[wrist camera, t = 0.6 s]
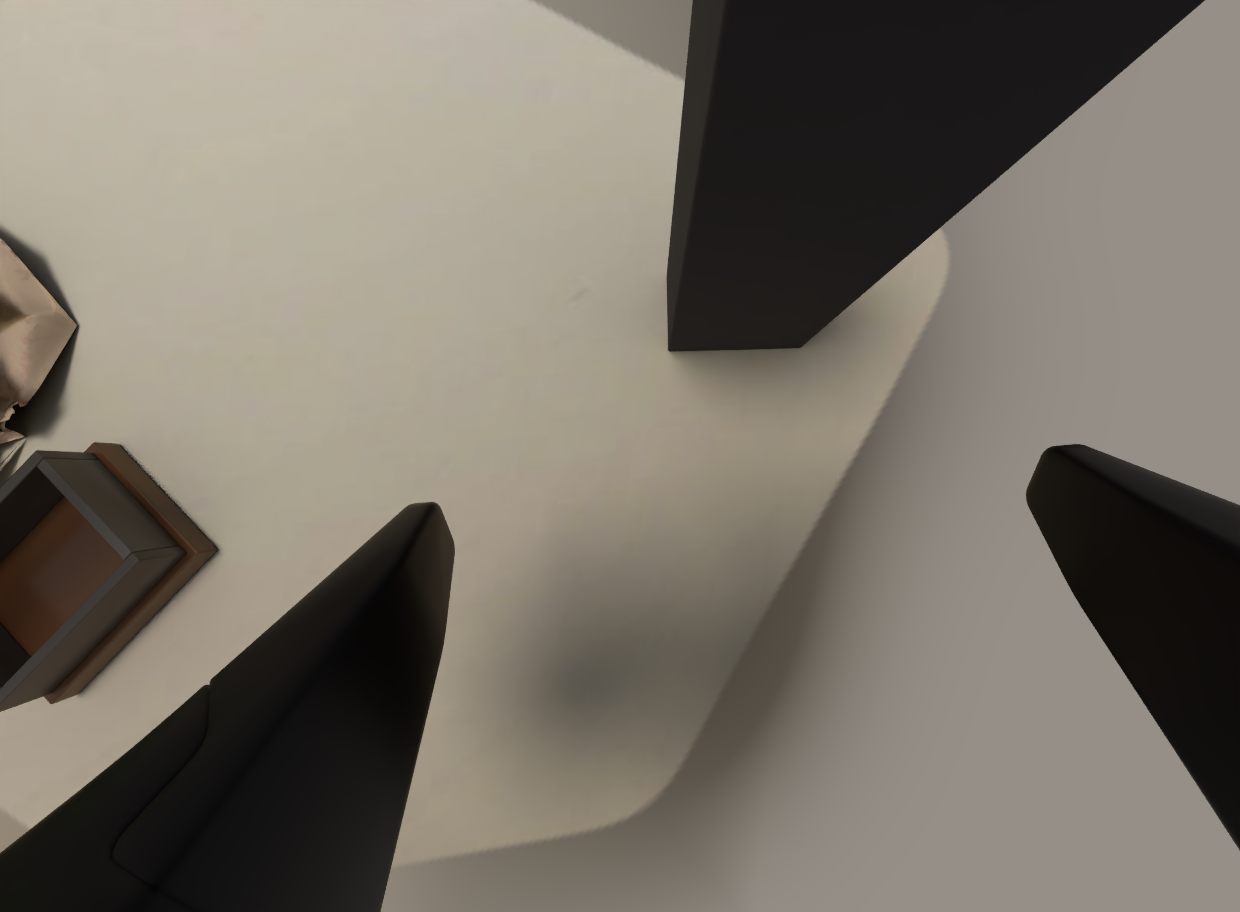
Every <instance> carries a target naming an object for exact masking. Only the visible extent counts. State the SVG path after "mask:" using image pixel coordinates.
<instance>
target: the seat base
mask: <svg viewBox="0 0 1240 912" xmlns="http://www.w3.org/2000/svg"><path fill="white" fill-rule="evenodd" d="M216 551H217V548H216V547H215V546H214V545H213V544H212V543H211V542H210V541H209V540H208V539H207V538H206V537H205V536H204V535H203V534H202V533H201V531H200V530H199V529H198V528H197V527H196V526H195V525H194V524H193V523H192V522H191V521H190V520H189V519H188V518H187V517H186V516H185V515H184V514H183V512H182V511H181V510H180V509H179V508H178V507H177V506H176V505H175V504H174V503H173V502H172V501H171V500H170V499H169V498H168V497H167V496H166V495H165V493H164V492H163V491H162V490H161V489H160V488H159V487H158V486H157V485H156V484H155V483H154V482H153V481H152V480H151V479H150V478H149V477H148V476H147V474H146V473H145V472H144V471H143V470H142V469H141V468H140V467H139V466H138V465H137V464H136V463H135V462H134V461H133V460H132V459H131V458H130V457H129V455H128V454H127V453H126V452H125V451H124V450H123V449H122V448H121V447H120V446H119V445H118V444H113V443H98V442H95V443H93V444H92V445H91V446H90V447H89V448H88V449H87V450H86V451H85V452H84V453H82V452H61V451H40V450H37V451H35V452H34V453H33V454H32V455H31V456H30V458H29V459H28V460H27V461H26V462H25V463H24V464H23V465H22V466H21V467H20V468H19V469H18V470H17V471H16V472H15V473H14V474H13V475H12V476H11V477H10V478H9V479H8V480H7V481H6V482H5V483H4V484H3V485H2V486H1V488H0V712H1V711H4V710H7V709H9V708H12V707H15V706H18V705H20V704H23V703H26V702H29V701H32V700H34V699H37V698H40V697H43V696H44V697H45V698H46V700H47V701H48V702H49V703H50V704H54V703H56V702H59V701H62V700H64V699H67V698H70V697H72V696H75V695H77V694H78V693H79V692H80V691H81V690H82V689H83V688H84V687H85V686H86V685H87V684H88V683H89V682H90V681H91V680H92V679H93V678H94V677H95V675H96V674H97V673H98V672H99V671H100V670H101V669H102V668H103V667H104V666H105V665H106V664H107V663H108V662H109V661H110V660H111V659H112V658H113V657H114V656H115V655H116V654H117V653H118V652H119V651H120V650H121V649H122V648H123V647H124V646H125V645H126V644H127V643H128V641H129V640H130V639H131V638H132V637H133V636H134V635H135V634H136V633H137V632H138V631H139V630H140V629H141V628H142V627H143V626H144V625H145V624H146V623H147V622H148V621H149V620H150V619H151V618H152V617H153V616H154V615H155V614H156V613H157V612H158V611H159V610H160V608H161V607H162V606H163V605H164V604H165V603H166V602H167V601H168V600H169V599H170V598H171V597H172V596H173V595H174V594H175V593H176V592H177V591H178V590H179V589H180V588H181V587H182V586H183V585H184V584H185V583H186V582H187V581H188V580H189V579H190V578H191V577H192V575H193V574H194V573H195V572H196V571H197V570H198V569H199V568H200V567H201V566H202V565H203V564H204V563H205V562H206V561H207V560H208V559H209V558H210V557H211V556H212V555H213V554H214V553H215V552H216Z"/></svg>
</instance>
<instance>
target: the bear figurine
mask: <svg viewBox="0 0 1240 912" xmlns="http://www.w3.org/2000/svg"><path fill="white" fill-rule="evenodd" d="M76 327H77V325H76V324H75V322H74V321H73V320H72V319H71V318H70V317H69V316H68V314H67V313H66V312H65V311H64V310H63V309H62V308H61V306H60V305H59V304H58V303H57V302H56V301H55V299H54V298H53V297H52V296H51V295H50V294H49V293H48V291H47V290H46V289H45V288H44V287H43V286H42V284H41V283H40V282H39V281H38V280H37V279H36V278H35V276H34V275H33V274H32V273H31V272H30V271H29V269H28V268H27V267H26V266H25V265H24V264H23V263H22V261H21V260H20V259H19V258H18V257H17V256H16V255H15V253H14V252H13V251H12V250H11V249H10V248H9V246H8V245H7V244H6V243H5V242H4V241H3V240H2V239H1V238H0V444H1V443H5V442H8V441H12V440H15V439H19V438H22V437H25V436H23V435H21V434H19V433H17V432H15V431H12V430H9V429H7V428H5V422H6V420H9V419H10V416H11V415H12V413H15V411H14V409H13V408H12V407H13V406H14V405H16V404H19V405H20V407H22V406H25V405H27V403H28V402H29V400H30V399H31V398H32V396H33V395H34V394H35V393H36V391H37V390H38V389H39V387H40V386H41V384H42V382H43V381H44V379H45V377H46V376H47V374H48V373H49V371H50V369H51V368H52V366H53V364H54V363H55V361H56V359H57V358H58V356H59V355H60V353H61V351H62V350H63V348H64V346H65V345H66V343H67V341H68V340H69V338H70V337H71V335H72V333H73V332H74V330H75V328H76ZM19 444H20V443H19ZM19 444H18V445H19ZM18 445H17V446H18ZM13 451H14V450H13ZM13 451H12V452H13ZM12 452H11V453H12ZM11 453H10V454H11ZM10 454H9V455H10ZM9 455H8V457H9ZM8 457H7V458H8ZM7 458H6V459H7ZM6 459H5V460H6ZM5 460H4V461H5ZM4 461H3V462H4ZM3 462H2V463H1V464H0V466H1V465H2V464H3Z"/></svg>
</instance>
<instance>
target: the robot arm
mask: <svg viewBox="0 0 1240 912" xmlns="http://www.w3.org/2000/svg"><path fill="white" fill-rule="evenodd" d="M1026 499H1027V504H1028V506H1029V509H1030V510H1031V512H1032V514H1033V516H1034V518H1035V520H1036V522H1037V524H1038V526H1039V528H1040V530H1041V532H1042V534H1043V536H1044V538H1045V540H1046V542H1047V544H1048V546H1049V548H1050V550H1051V552H1052V554H1053V556H1054V558H1055V560H1056V562H1057V564H1058V566H1059V568H1060V570H1061V572H1062V574H1063V575H1064V577H1065V579H1066V581H1067V583H1068V585H1069V587H1070V588H1071V590H1072V592H1073V594H1074V596H1075V597H1076V599H1077V601H1078V602H1079V604H1080V606H1081V607H1082V609H1083V610H1084V612H1085V613H1086V615H1087V617H1088V618H1089V620H1090V621H1091V623H1092V624H1093V626H1094V627H1095V629H1096V630H1097V632H1098V633H1099V635H1100V637H1101V638H1102V640H1103V641H1104V643H1105V644H1106V646H1107V647H1108V649H1109V650H1110V652H1111V653H1112V655H1113V656H1114V658H1115V660H1116V661H1117V663H1118V664H1119V666H1120V667H1121V669H1122V670H1123V672H1124V673H1125V675H1126V676H1127V678H1128V679H1129V681H1130V683H1131V684H1132V685H1133V687H1134V689H1135V690H1136V692H1137V693H1138V695H1139V696H1140V698H1141V699H1142V701H1143V703H1144V704H1145V706H1146V707H1147V709H1148V710H1149V712H1150V713H1151V715H1152V716H1153V718H1154V719H1155V721H1156V722H1157V724H1158V726H1159V727H1160V729H1161V730H1162V732H1163V733H1164V735H1165V736H1166V738H1167V739H1168V741H1169V742H1170V744H1171V745H1172V747H1173V748H1174V750H1175V752H1176V753H1177V755H1178V756H1179V758H1180V759H1181V761H1182V762H1183V764H1184V765H1185V767H1186V768H1187V770H1188V772H1189V773H1190V775H1191V776H1192V778H1193V779H1194V781H1195V782H1196V784H1197V785H1198V787H1199V788H1200V790H1201V792H1202V793H1203V795H1204V796H1205V797H1206V799H1207V801H1208V802H1209V804H1210V805H1211V807H1212V808H1213V810H1214V812H1215V813H1216V815H1217V816H1218V818H1219V819H1220V821H1221V822H1222V824H1223V825H1224V827H1225V828H1226V830H1227V831H1228V833H1229V835H1230V836H1231V838H1232V839H1233V841H1234V842H1235V844H1236V845H1237V847H1238V848H1239V850H1240V505H1238V504H1235V503H1232V502H1230V501H1227V500H1225V499H1222V498H1219V497H1217V496H1214V495H1212V494H1209V493H1207V492H1204V491H1201V490H1198V489H1196V488H1194V487H1191V486H1188V485H1186V484H1183V483H1181V482H1178V481H1176V480H1173V479H1170V478H1168V477H1165V476H1163V475H1160V474H1157V473H1155V472H1152V471H1149V470H1147V469H1144V468H1142V467H1139V466H1137V465H1134V464H1131V463H1129V462H1126V461H1124V460H1121V459H1118V458H1116V457H1113V456H1111V455H1108V454H1106V453H1103V452H1100V451H1098V450H1095V449H1092V448H1090V447H1087V446H1085V445H1080V444H1072V445H1061V446H1053V447H1050V448H1048V449H1047V450H1045V451H1044V452H1043V454H1042V455H1041V458H1040V460H1039V462H1038V464H1037V467H1036V469H1035V471H1034V474H1033V476H1032V478H1031V481H1030V483H1029V486H1028V487H1027V491H1026ZM454 555H455V547H454V541H453V538H452V535H451V533H450V530H449V528H448V525H447V522H446V520H445V517H444V515H443V512H442V510H441V508H440V506H439V505H438V504H437V503H435V502H426V503H414V504H410V505H408V506H407V507H406V508H404V509H403V510H402V511H401V512H400V513H399V514H398V515H396V516H395V517H394V518H393V519H392V520H391V521H390V522H389V523H387V524H386V525H385V526H384V527H383V528H382V529H381V530H379V531H378V532H377V533H376V534H375V535H374V536H373V537H372V538H370V539H369V540H368V541H367V542H366V543H365V544H364V545H363V546H361V547H360V548H359V549H358V550H357V551H356V552H355V553H353V554H352V555H351V556H350V557H349V558H348V559H347V560H346V561H344V562H343V563H342V564H341V565H340V566H339V567H338V568H337V569H335V570H334V571H333V572H332V573H331V574H330V575H329V576H327V577H326V578H325V579H324V580H323V581H322V582H321V583H320V584H318V585H317V586H316V587H315V588H314V589H313V590H312V591H311V592H309V593H308V594H307V595H306V596H305V597H304V598H303V599H301V600H300V601H299V602H298V603H297V604H296V605H295V606H294V607H292V608H291V609H290V610H289V611H288V612H287V613H286V614H285V615H283V616H282V617H281V618H280V619H279V620H278V621H277V622H276V623H274V624H273V625H272V626H271V627H270V628H269V629H268V630H266V631H265V632H264V633H263V634H262V635H261V636H260V637H259V638H257V639H256V640H255V641H254V642H253V643H252V644H251V645H250V646H248V647H247V648H246V649H245V650H244V651H243V652H242V653H240V654H239V655H238V656H237V657H236V658H235V659H234V660H233V661H231V662H230V663H229V664H228V665H227V666H226V667H225V668H223V669H222V670H221V671H220V672H219V673H218V674H217V675H216V676H214V677H213V678H212V679H211V681H210V685H204V686H203V687H202V688H201V689H200V690H198V691H197V692H196V693H195V694H194V695H193V696H192V697H190V698H189V699H188V700H187V701H186V702H185V703H184V704H183V705H181V706H180V707H179V708H178V709H177V710H176V711H175V712H173V713H172V714H171V715H170V716H169V717H168V718H166V719H165V720H164V721H163V722H162V723H161V724H159V725H158V726H157V727H156V728H155V729H154V730H152V731H151V732H150V733H149V734H148V735H147V736H145V737H144V738H143V739H142V740H141V741H140V742H138V743H137V744H136V745H135V746H134V747H133V748H131V749H130V750H129V751H128V752H126V753H125V754H124V755H123V756H121V757H120V758H119V759H118V760H117V761H115V762H114V763H113V764H112V765H110V766H109V767H108V768H107V769H105V770H104V771H103V772H102V773H101V774H99V775H98V776H97V777H96V778H94V779H93V780H92V781H91V782H89V783H88V784H87V785H86V786H84V787H83V788H82V789H81V790H80V791H78V792H77V793H76V794H74V795H73V796H72V797H71V798H69V799H68V800H67V801H66V802H64V803H63V804H62V805H61V806H59V807H58V808H57V809H55V810H54V811H53V812H52V813H50V814H49V815H48V816H47V817H45V818H44V819H43V820H41V821H40V822H39V823H38V824H36V825H35V826H34V827H33V828H31V829H30V830H29V831H28V832H26V833H25V834H24V835H23V836H21V837H20V838H19V839H17V840H16V841H15V842H14V843H12V844H11V845H10V846H9V847H7V848H6V849H5V850H4V851H2V852H1V853H0V912H380V911H381V907H382V902H383V899H384V894H385V890H386V886H387V881H388V878H389V873H390V869H391V865H392V861H393V857H394V852H395V848H396V844H397V840H398V836H399V831H400V827H401V823H402V819H403V815H404V810H405V806H406V802H407V798H408V794H409V789H410V785H411V781H412V777H413V773H414V768H415V764H416V760H417V756H418V752H419V747H420V743H421V739H422V735H423V731H424V726H425V722H426V718H427V714H428V710H429V705H430V701H431V697H432V693H433V689H434V684H435V680H436V676H437V672H438V668H439V663H440V659H441V655H442V650H443V645H444V639H445V632H446V624H447V615H448V607H449V598H450V590H451V581H452V573H453V564H454Z"/></svg>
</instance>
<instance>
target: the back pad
mask: <svg viewBox="0 0 1240 912" xmlns="http://www.w3.org/2000/svg"><path fill="white" fill-rule="evenodd" d="M1203 1H1205V0H693V5H692V16H691V25H690V36H689V46H688V58H687V67H686V78H685V89H684V99H683V110H682V120H681V131H680V141H679V152H678V162H677V173H676V184H675V194H674V205H673V215H672V226H671V236H670V247H669V257H668V268H667V312H668V350H669V351H697V350H735V349H773V348H800V347H802V346H803V345H804V344H805V343H806V342H808V341H809V340H810V339H811V338H812V337H813V336H815V335H816V334H817V333H818V332H819V331H820V330H821V329H823V328H824V327H825V326H826V325H827V324H828V323H830V322H831V321H832V320H833V319H834V318H835V317H837V316H838V315H839V314H840V313H841V312H842V311H844V310H845V309H846V308H847V307H848V306H849V305H851V304H852V303H853V302H854V301H855V300H856V299H858V298H859V297H860V296H861V295H862V294H863V293H865V292H866V291H867V290H868V289H869V288H870V287H872V286H873V285H874V284H875V283H876V282H877V281H879V280H880V279H881V278H882V277H883V276H884V275H886V274H887V273H888V272H889V271H890V270H891V269H893V268H894V267H895V266H896V265H897V264H898V263H900V262H901V261H902V260H903V259H904V258H905V257H907V256H908V255H909V254H910V253H911V252H912V251H913V250H915V249H916V248H917V247H918V246H919V245H920V244H922V243H923V242H924V241H925V240H926V239H927V238H929V237H930V236H931V235H932V234H933V233H934V232H936V231H937V230H938V229H939V228H940V227H941V226H943V225H944V224H945V223H946V222H947V221H948V220H949V219H951V218H952V217H953V216H954V215H955V214H956V213H958V212H959V211H960V210H961V209H962V208H964V207H965V206H966V205H967V204H968V203H969V202H971V201H972V200H973V199H974V198H975V197H976V196H978V194H980V193H981V192H982V191H983V190H984V189H986V188H987V187H988V186H989V185H990V184H991V183H993V182H994V181H995V180H996V179H997V178H999V177H1000V175H1002V174H1003V173H1004V172H1005V171H1007V170H1008V169H1009V168H1010V167H1011V166H1012V165H1014V164H1015V163H1016V162H1017V161H1018V160H1019V159H1021V158H1022V157H1023V156H1024V155H1025V154H1026V153H1028V152H1029V151H1030V150H1031V149H1032V148H1033V147H1035V146H1036V145H1037V144H1038V143H1039V142H1040V141H1042V140H1043V139H1044V138H1045V137H1046V136H1047V135H1049V134H1050V133H1051V132H1052V131H1053V130H1054V129H1055V128H1057V127H1058V126H1059V125H1060V124H1061V123H1062V122H1064V121H1065V120H1066V119H1067V118H1068V117H1069V116H1070V115H1072V114H1073V113H1074V112H1075V111H1076V110H1078V109H1079V108H1080V107H1081V106H1082V105H1084V104H1085V103H1086V102H1087V101H1088V100H1089V99H1091V97H1093V96H1094V95H1095V94H1096V93H1098V92H1099V91H1100V90H1101V89H1102V88H1103V87H1104V86H1106V85H1107V84H1108V83H1109V82H1110V81H1111V80H1113V79H1114V78H1115V77H1116V76H1117V75H1118V74H1119V73H1121V72H1122V71H1123V70H1124V69H1125V68H1127V67H1128V66H1129V65H1130V64H1131V63H1132V62H1134V61H1135V60H1136V59H1137V58H1138V57H1139V56H1141V54H1143V53H1144V52H1145V51H1146V50H1148V49H1149V48H1150V47H1151V46H1152V45H1153V44H1155V43H1156V42H1157V41H1158V40H1159V39H1160V38H1162V37H1163V36H1164V35H1165V34H1166V33H1167V32H1168V31H1170V30H1171V29H1172V28H1173V27H1174V26H1176V25H1177V24H1178V23H1179V22H1180V21H1181V20H1183V19H1184V18H1185V17H1186V16H1187V15H1188V14H1189V13H1191V12H1192V11H1193V10H1194V9H1195V8H1196V7H1198V6H1199V5H1200V4H1201V3H1202V2H1203Z"/></svg>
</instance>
